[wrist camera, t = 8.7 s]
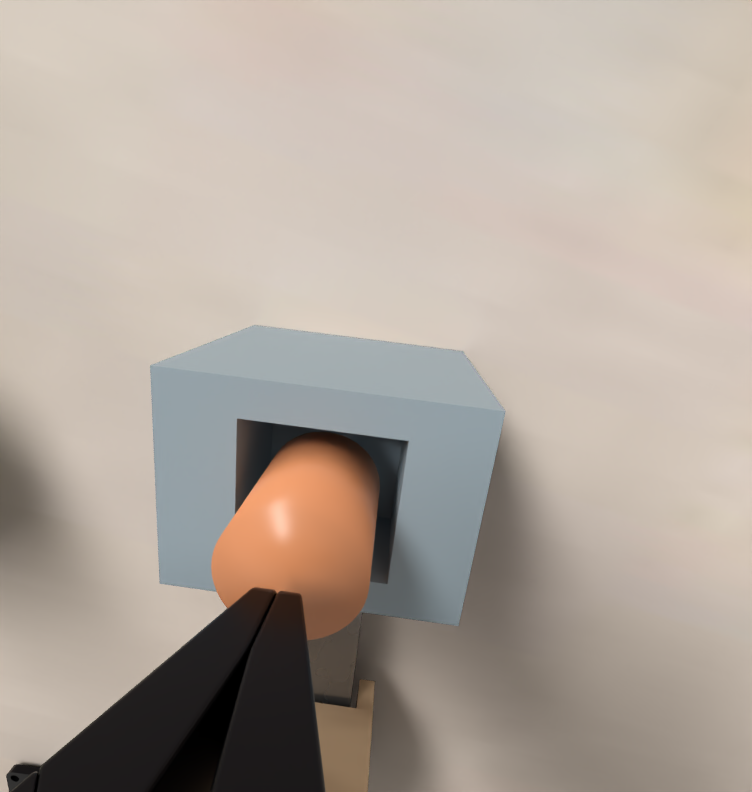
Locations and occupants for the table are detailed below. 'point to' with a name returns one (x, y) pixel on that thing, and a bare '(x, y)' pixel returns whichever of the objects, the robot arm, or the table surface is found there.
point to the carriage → (346, 741)
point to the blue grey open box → (337, 413)
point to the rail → (335, 664)
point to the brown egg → (306, 531)
